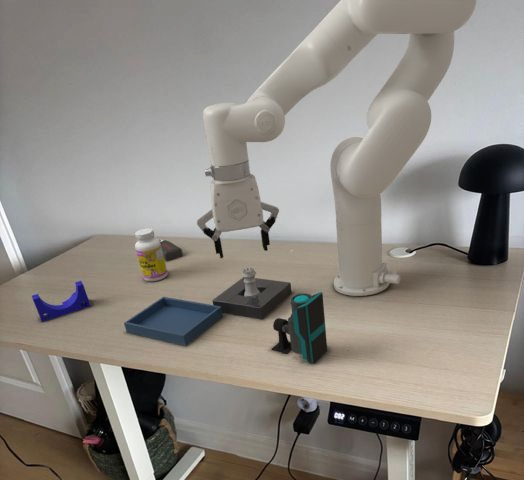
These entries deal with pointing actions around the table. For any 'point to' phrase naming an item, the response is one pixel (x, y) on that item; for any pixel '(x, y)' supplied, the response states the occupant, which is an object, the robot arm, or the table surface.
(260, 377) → the table surface
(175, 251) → the usb drive
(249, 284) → the rook chess piece
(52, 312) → the blue curved cradle bracket
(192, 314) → the basin tray
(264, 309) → the square hole block
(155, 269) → the supplement bottle
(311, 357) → the surveillance camera
